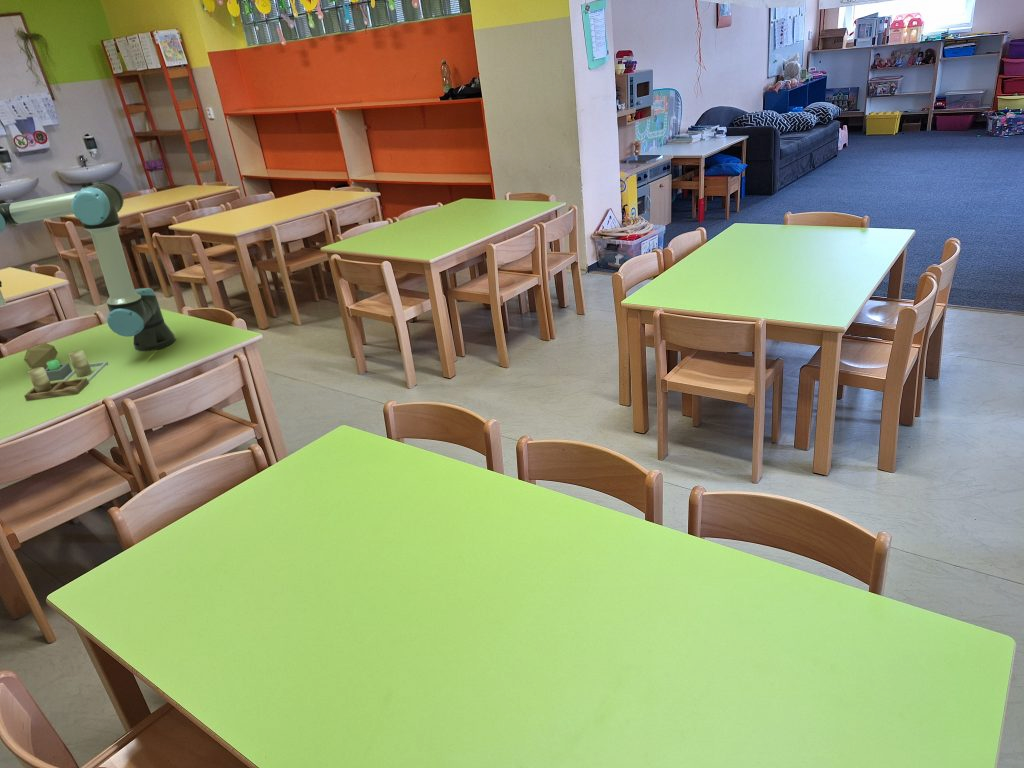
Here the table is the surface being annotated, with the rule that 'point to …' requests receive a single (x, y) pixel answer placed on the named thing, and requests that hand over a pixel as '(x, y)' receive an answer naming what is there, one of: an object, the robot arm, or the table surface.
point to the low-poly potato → (40, 355)
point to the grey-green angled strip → (101, 364)
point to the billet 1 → (40, 380)
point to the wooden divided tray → (59, 389)
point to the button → (53, 365)
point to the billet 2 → (80, 363)
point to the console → (59, 372)
